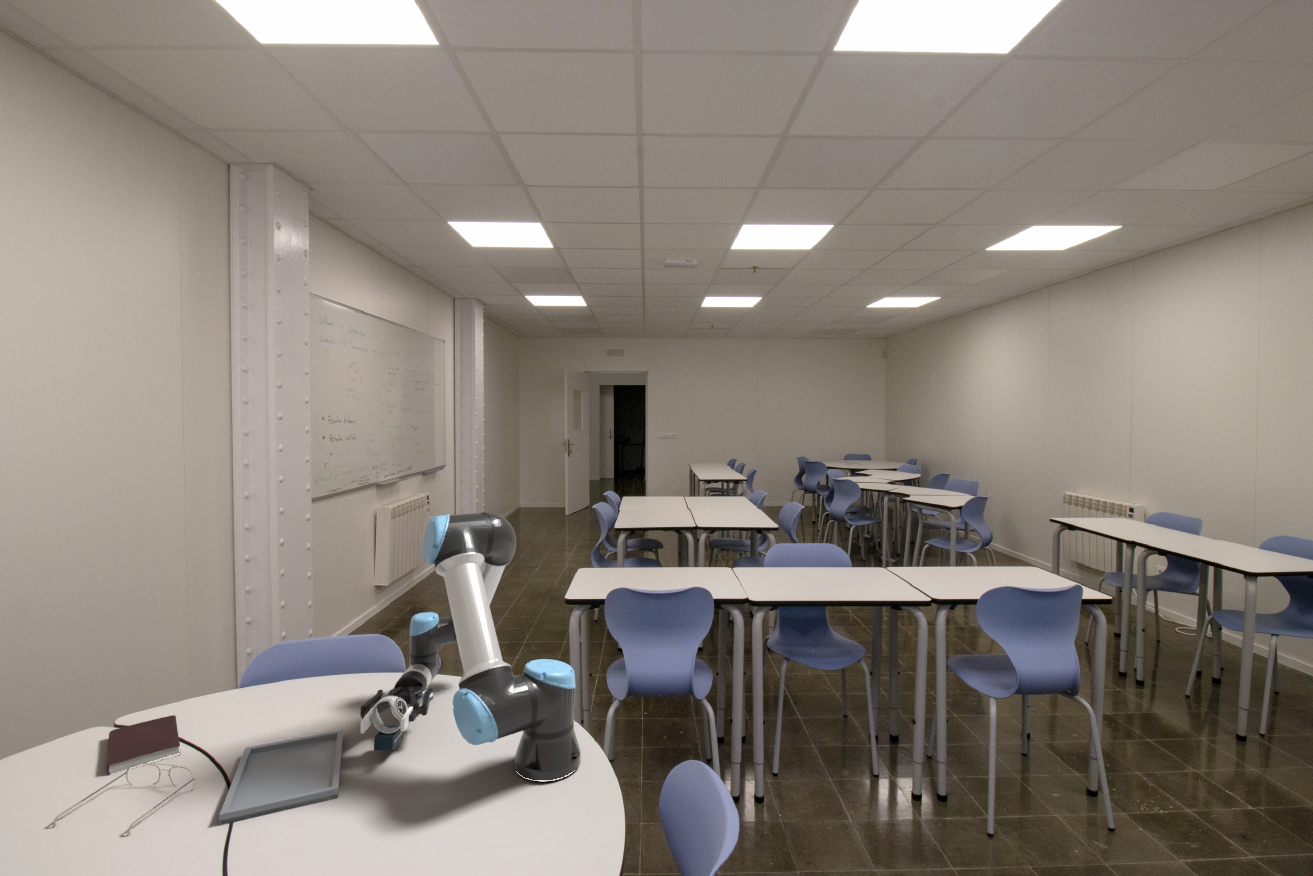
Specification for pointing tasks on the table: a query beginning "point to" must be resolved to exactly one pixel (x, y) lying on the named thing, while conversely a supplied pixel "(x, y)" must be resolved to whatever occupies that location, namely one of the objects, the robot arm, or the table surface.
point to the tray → (284, 776)
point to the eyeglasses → (131, 783)
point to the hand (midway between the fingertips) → (382, 726)
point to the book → (142, 743)
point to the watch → (388, 733)
